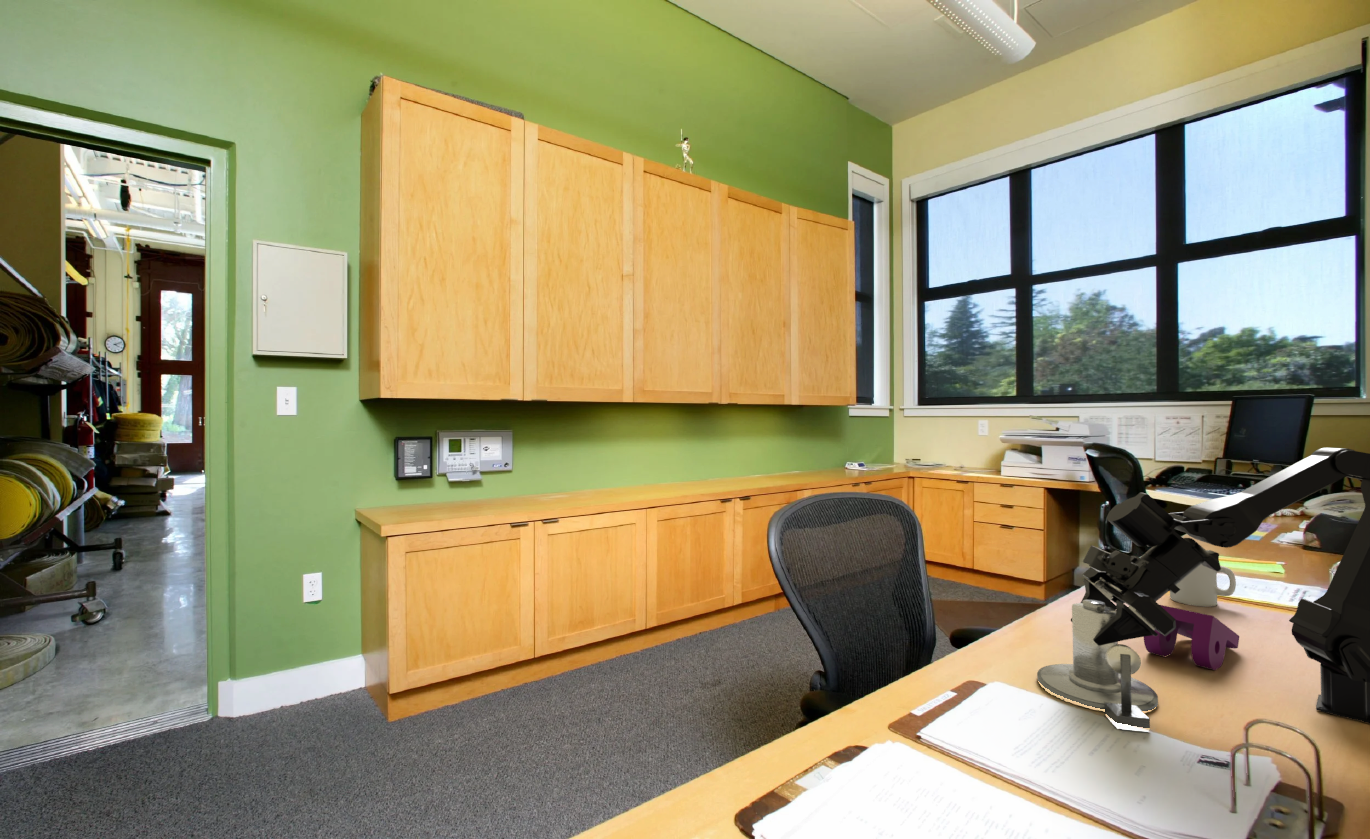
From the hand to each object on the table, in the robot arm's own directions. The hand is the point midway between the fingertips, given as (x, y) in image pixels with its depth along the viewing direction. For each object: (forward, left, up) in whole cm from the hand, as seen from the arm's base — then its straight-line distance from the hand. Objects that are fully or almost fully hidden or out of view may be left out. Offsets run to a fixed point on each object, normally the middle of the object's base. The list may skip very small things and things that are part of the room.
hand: (1083, 632), depth 96 cm
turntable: (+1, -1, -9) cm, 9 cm away
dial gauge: (-8, -7, -9) cm, 14 cm away
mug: (+71, -4, -9) cm, 71 cm away
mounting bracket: (+32, -9, -10) cm, 35 cm away
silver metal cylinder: (+1, -1, -8) cm, 8 cm away
